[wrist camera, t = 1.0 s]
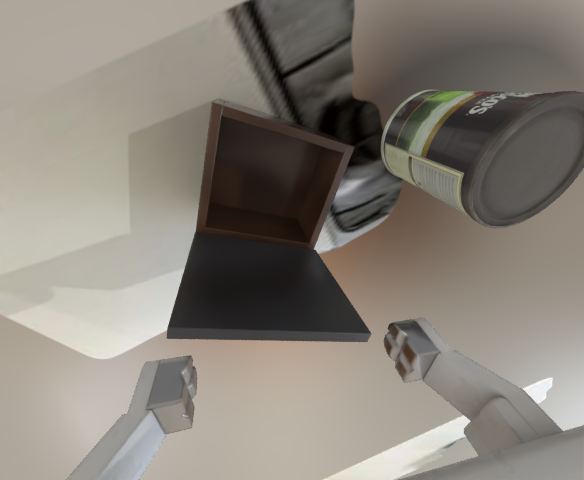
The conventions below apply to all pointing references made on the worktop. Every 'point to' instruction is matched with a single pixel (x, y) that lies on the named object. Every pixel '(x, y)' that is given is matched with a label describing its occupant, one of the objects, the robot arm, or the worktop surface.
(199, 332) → the dark grey box door
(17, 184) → the worktop surface
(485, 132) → the coffee can
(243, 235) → the open brown box
